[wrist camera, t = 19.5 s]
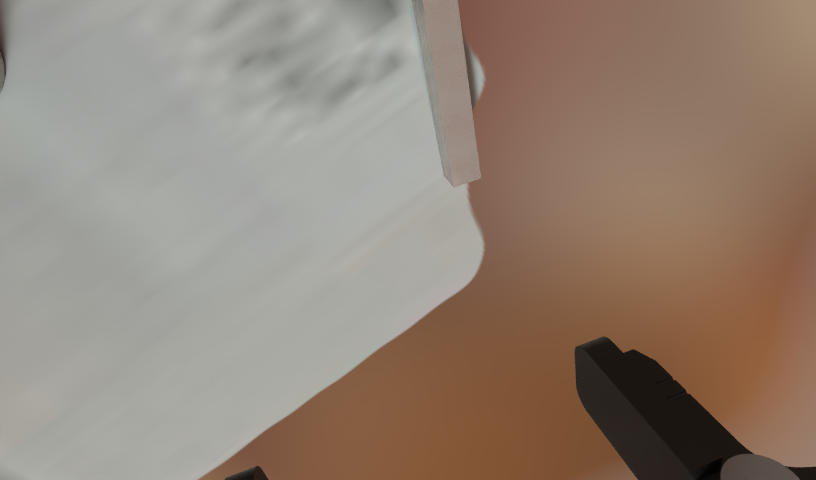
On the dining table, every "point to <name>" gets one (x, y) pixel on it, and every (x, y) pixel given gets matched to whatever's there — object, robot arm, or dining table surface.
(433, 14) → the rod
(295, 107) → the dining table surface
